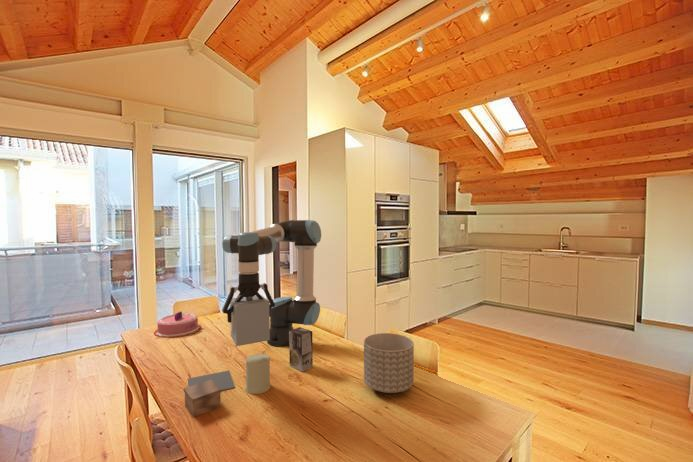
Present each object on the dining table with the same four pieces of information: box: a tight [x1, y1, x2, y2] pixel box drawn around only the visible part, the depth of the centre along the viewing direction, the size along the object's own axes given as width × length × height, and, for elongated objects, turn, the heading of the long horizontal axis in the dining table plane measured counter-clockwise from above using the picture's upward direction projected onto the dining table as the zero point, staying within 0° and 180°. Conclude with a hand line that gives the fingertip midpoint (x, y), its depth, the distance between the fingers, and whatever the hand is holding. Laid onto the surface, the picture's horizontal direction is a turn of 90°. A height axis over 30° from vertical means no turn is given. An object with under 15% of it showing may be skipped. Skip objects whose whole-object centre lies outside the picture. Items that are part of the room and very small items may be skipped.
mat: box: [187, 370, 236, 391], centre depth 132 cm, size 16×16×1 cm
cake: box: [153, 311, 202, 339], centre depth 196 cm, size 25×25×11 cm
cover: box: [229, 294, 270, 347], centre depth 128 cm, size 12×12×16 cm
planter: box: [363, 332, 415, 394], centre depth 129 cm, size 19×19×18 cm
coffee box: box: [288, 326, 314, 372], centre depth 147 cm, size 9×6×16 cm
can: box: [245, 353, 271, 395], centre depth 129 cm, size 9×9×12 cm
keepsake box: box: [183, 380, 223, 418], centre depth 116 cm, size 10×10×6 cm
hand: (249, 327), depth 129 cm, fingers closed on cover, 12 cm apart
